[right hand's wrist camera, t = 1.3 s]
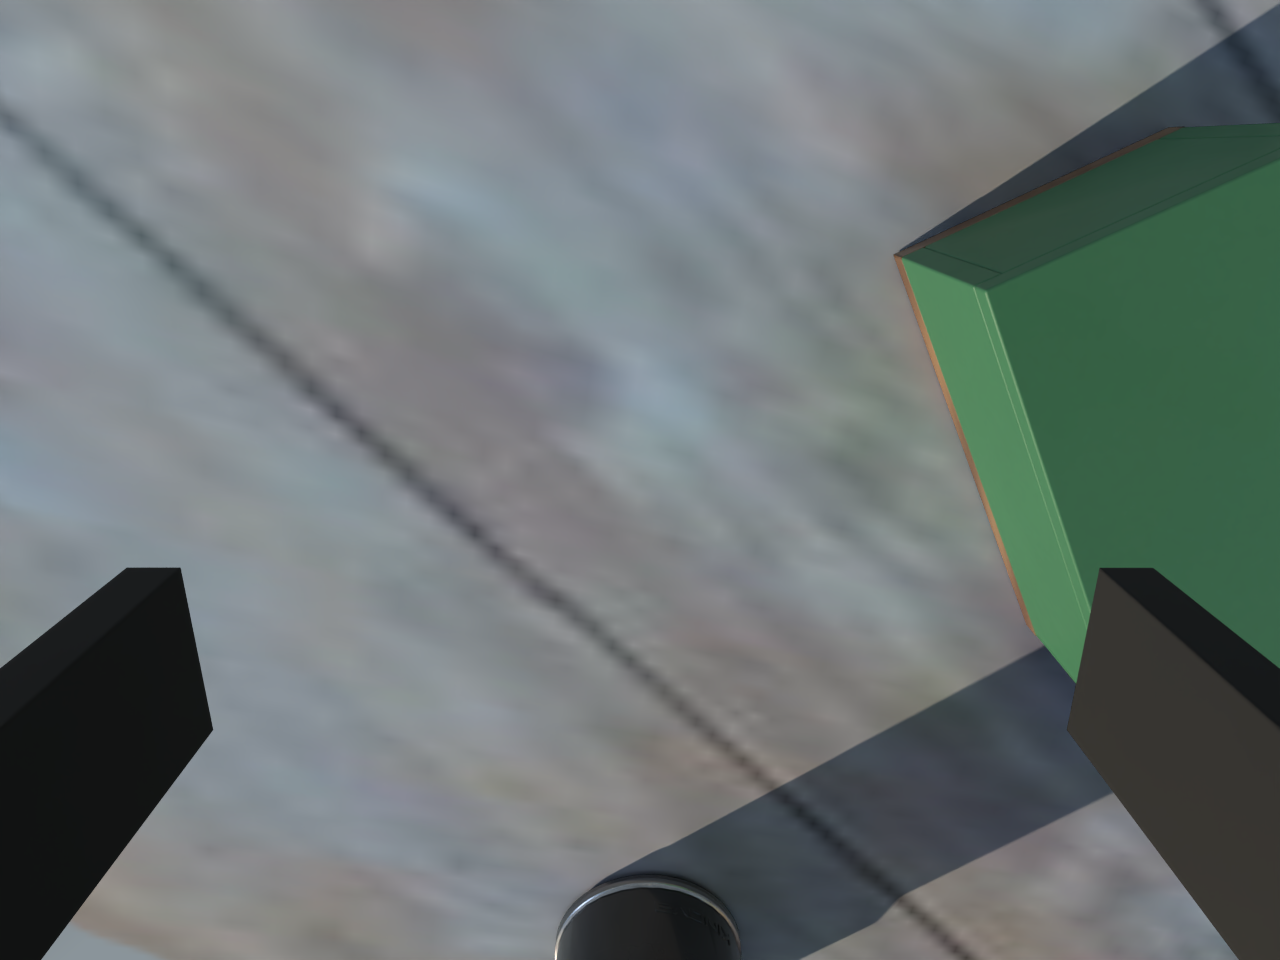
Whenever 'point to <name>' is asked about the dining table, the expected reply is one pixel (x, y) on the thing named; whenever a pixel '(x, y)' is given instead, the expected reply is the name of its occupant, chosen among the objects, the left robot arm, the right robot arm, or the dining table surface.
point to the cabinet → (1122, 376)
